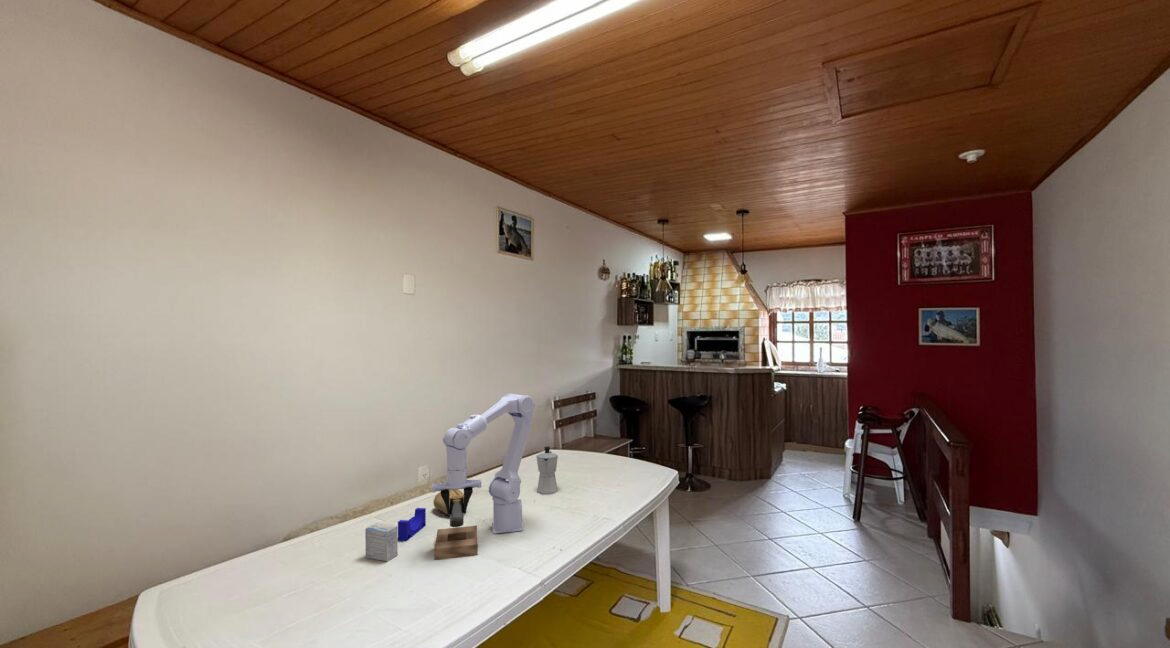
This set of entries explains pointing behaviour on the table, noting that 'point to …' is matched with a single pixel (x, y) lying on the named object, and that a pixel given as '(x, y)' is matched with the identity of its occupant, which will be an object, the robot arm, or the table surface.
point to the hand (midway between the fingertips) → (456, 513)
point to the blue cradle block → (412, 525)
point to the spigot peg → (456, 511)
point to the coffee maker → (547, 472)
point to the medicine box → (381, 541)
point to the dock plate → (456, 542)
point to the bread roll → (440, 502)
